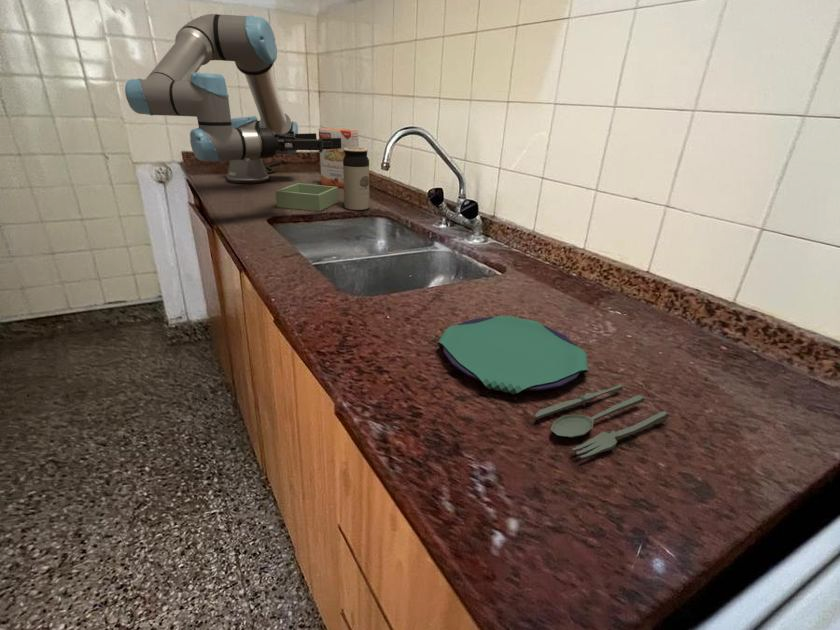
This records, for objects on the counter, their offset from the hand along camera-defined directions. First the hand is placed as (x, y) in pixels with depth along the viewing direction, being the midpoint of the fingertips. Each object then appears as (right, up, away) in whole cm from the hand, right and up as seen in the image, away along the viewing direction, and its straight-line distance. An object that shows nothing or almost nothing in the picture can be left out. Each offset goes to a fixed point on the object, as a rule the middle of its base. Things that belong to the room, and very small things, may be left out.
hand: (327, 140), depth 130 cm
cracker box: (-5, 0, +46) cm, 46 cm away
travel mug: (+6, -16, +15) cm, 23 cm away
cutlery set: (+42, -59, -69) cm, 100 cm away
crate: (-10, -14, +16) cm, 24 cm away
